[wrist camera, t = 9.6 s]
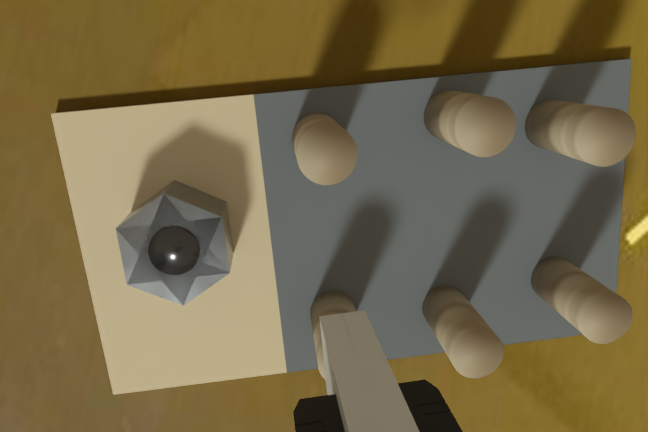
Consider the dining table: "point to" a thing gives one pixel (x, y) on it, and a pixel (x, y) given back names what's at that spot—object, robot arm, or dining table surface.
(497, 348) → the pegs
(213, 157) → the mat
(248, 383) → the dining table surface
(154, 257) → the nut
